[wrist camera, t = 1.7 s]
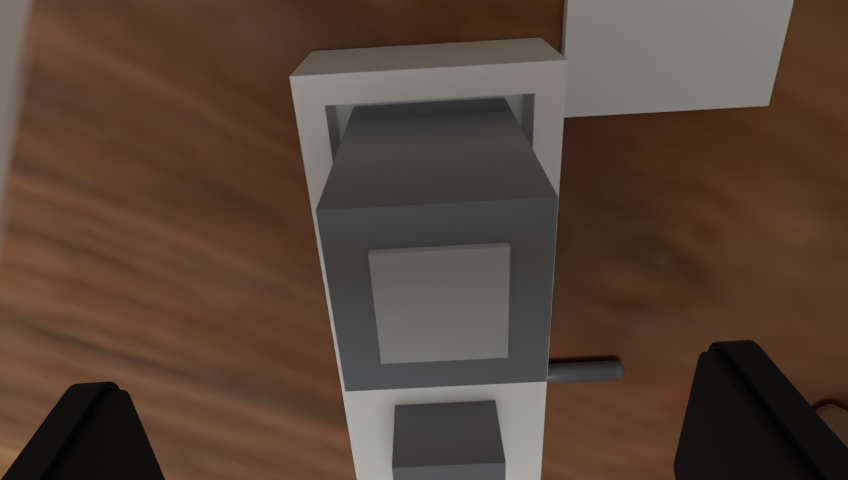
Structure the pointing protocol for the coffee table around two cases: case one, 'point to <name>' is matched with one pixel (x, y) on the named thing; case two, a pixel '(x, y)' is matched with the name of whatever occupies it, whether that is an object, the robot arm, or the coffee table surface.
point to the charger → (438, 247)
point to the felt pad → (670, 54)
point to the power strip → (543, 127)
